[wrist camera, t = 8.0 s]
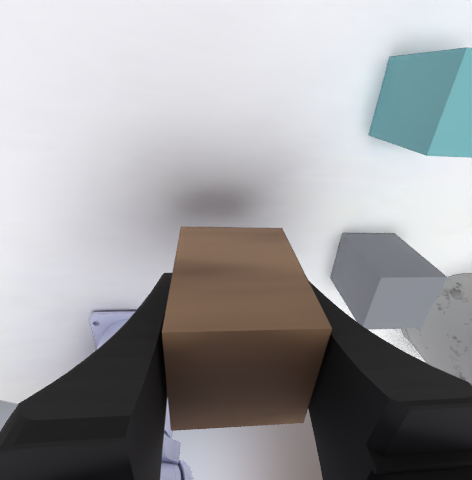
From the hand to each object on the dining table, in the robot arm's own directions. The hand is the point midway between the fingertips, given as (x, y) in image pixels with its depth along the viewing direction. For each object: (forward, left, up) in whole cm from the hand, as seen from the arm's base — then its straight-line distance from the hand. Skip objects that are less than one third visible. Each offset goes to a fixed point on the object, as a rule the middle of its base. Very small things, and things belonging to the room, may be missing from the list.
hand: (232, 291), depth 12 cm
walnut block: (0, 0, -2) cm, 2 cm away
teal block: (+8, -12, -10) cm, 17 cm away
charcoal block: (-4, -12, -10) cm, 16 cm away
